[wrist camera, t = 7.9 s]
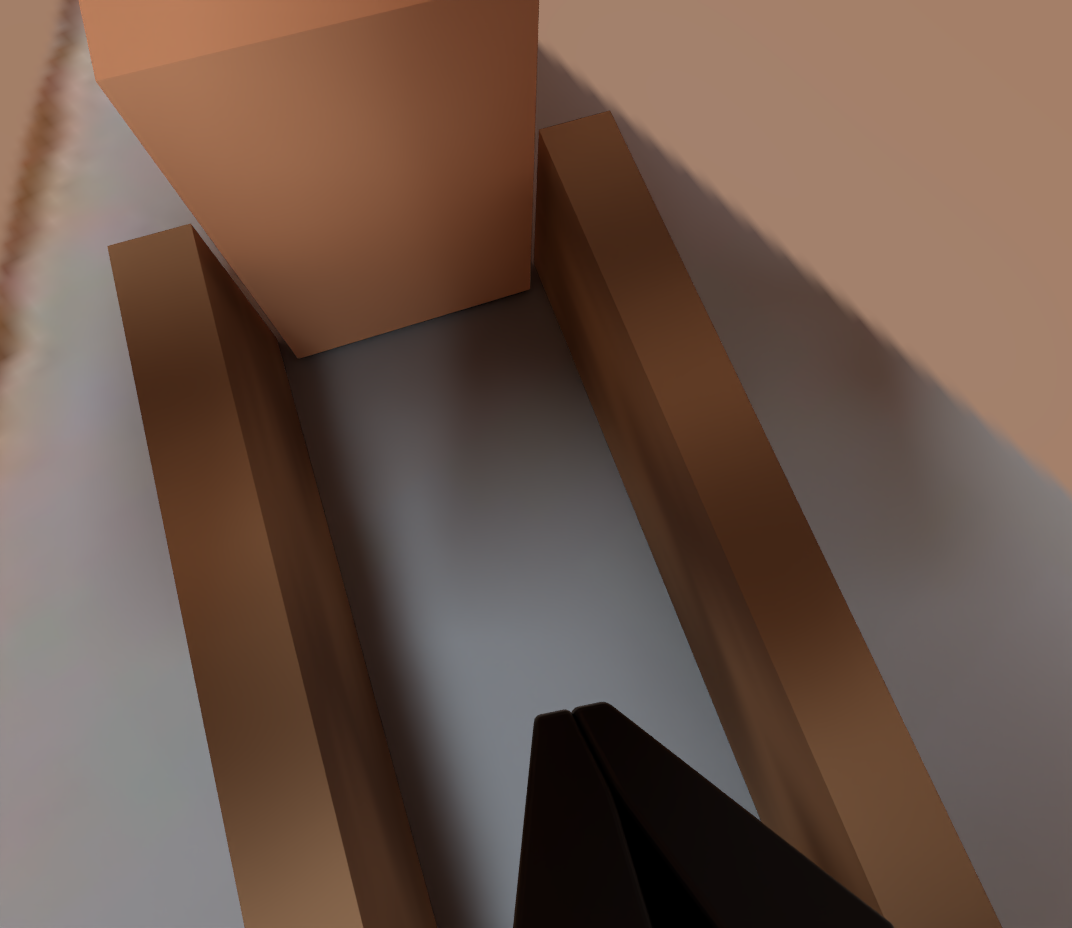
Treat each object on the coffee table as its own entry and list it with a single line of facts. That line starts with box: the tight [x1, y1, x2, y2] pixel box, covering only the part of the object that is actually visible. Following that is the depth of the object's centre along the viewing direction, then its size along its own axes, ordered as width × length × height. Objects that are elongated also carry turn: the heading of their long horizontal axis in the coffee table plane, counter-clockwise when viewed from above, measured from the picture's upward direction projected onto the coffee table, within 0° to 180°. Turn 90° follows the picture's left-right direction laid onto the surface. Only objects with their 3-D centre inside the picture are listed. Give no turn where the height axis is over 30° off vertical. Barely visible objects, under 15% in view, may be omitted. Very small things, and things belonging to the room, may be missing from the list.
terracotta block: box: [79, 0, 539, 359], centre depth 13 cm, size 6×6×8 cm
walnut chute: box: [108, 111, 1002, 928], centre depth 12 cm, size 18×10×4 cm, turn 20°
